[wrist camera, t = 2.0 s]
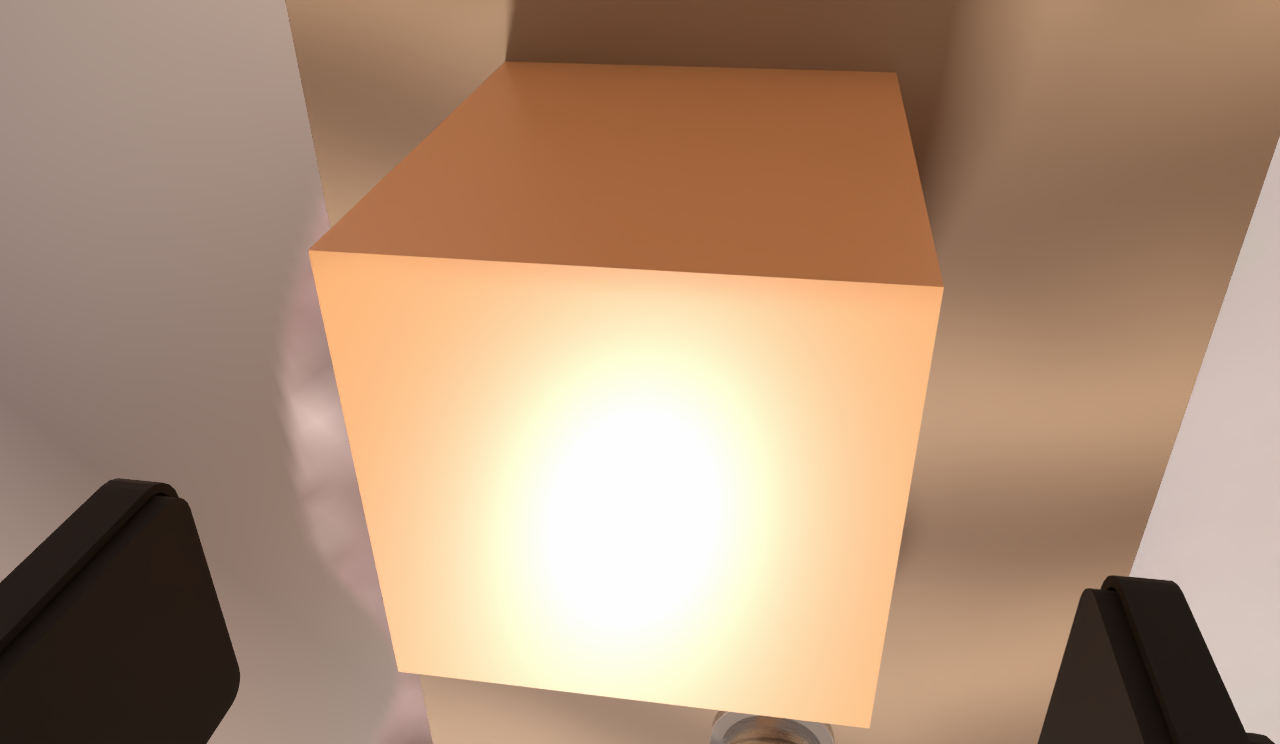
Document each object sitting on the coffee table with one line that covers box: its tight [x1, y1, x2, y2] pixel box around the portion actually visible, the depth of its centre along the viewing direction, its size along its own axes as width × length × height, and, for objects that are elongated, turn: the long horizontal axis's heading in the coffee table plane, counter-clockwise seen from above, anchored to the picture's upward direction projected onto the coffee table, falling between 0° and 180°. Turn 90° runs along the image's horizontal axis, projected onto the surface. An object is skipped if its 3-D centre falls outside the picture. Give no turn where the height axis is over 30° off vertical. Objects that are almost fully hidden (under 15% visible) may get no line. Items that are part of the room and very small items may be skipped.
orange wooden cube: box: [308, 62, 944, 728], centre depth 14 cm, size 6×6×7 cm
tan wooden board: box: [285, 0, 1280, 744], centre depth 20 cm, size 20×15×1 cm
